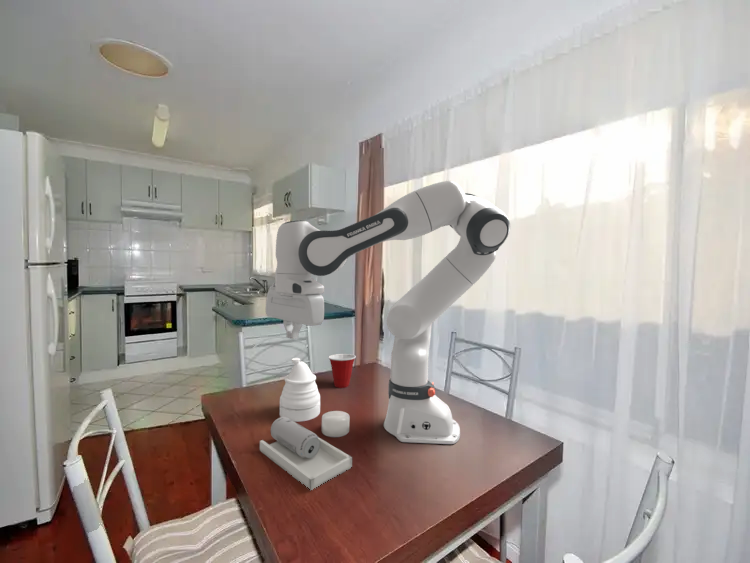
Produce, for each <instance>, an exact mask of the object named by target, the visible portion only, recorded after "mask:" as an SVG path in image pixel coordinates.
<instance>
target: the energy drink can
mask: <svg viewBox="0 0 750 563" xmlns="http://www.w3.org/2000/svg"><path fill="white" fill-rule="evenodd" d="M270 435H271V437H272V438H273V439H274V440H276V442H277V441H278V442H280V443H281V444H283V445H284V446H286V447H287V448H289V449H290V450H292V451H293V452H295V453H296V454H298V455H299V456H301V457H302V458H312V457H314V456H315V455H316V454H317V453H318V451H319V448H320V440H319V439H318V437H319V436H318V435H317V434H316V433H315V432H314V431H311V430H309V429H308V428H306V427H305V426H303V425H301V424H299V423H297V422H294V421H292V420H290V419H289V418H287V417H280V416H279V417H278V418H277V419H275V420H274V421H273V423H272V424H271V425H270Z"/></svg>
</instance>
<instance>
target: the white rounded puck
mask: <svg viewBox="0 0 750 563" xmlns="http://www.w3.org/2000/svg"><path fill="white" fill-rule="evenodd" d="M350 418H351V417H350V414H349V413H347V412H345V411H342V410H333V411H332V410H331V411H328V412H325V413H323V414H322V416H321V433H322V434H323V435H324V436H326V437H328V438H340V437H344V436H346V435H347V434H348V433H349V432H350Z"/></svg>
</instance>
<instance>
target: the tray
mask: <svg viewBox="0 0 750 563" xmlns="http://www.w3.org/2000/svg"><path fill="white" fill-rule="evenodd" d="M317 437H318V439H319V440H320V448H319V451H318V453H317V454H316V455H315V456H314V457H312V458H302V457H301V456H299V455H298V454H296V453H295V452H293V451H292V450H290V449H289V448H287V447H286V446H284V445H283V444H281V443H280V442H278V441H277V440H276V441H275V442H272V443H268V442H266V441H265V440H264V439H262V440H259V452H261V453H262V454H263V455H265V456H266V457H267V458H269V459H270V460H271V461H272V462H274V463H275V464H276V465H277V466H279V467H280V468H281V469H282V470H284V471H285V472H286V471H287V473H288V474H289V475H290V476H291V475H292V476H291V477H292V478H294V479H296V481H297V482H299V481H300V482H301V483H300V482H299V483H300V484H302V485H303V484H304V485H305V486H306V488H307V487H308V488H309V489H310V490H309V489H308V488H307V489H308V490H309V491H311V490H312V491H313V489H314V488H315V489H317V488H319V487H321V486H322V485H324V484H326V483H327V481H328V480H329V481H331V480H333V479H335V478H336V477H338V476H339V474H340V475H342V474H343V473H345V472H347V471H348V470H351V467H352V468H353V456H351V455H350V454H347V453H346V452H344V451H343V450H341V449H340V448H337V447H335V446H334V445H332V444H330V443H329V442H327V441H326V440H324V439H323V438H320V437H319V436H317ZM346 470H347V471H346ZM337 475H338V476H337ZM334 477H335V478H334ZM332 478H333V479H332ZM330 479H331V480H330ZM329 481H328V482H329ZM325 482H326V483H325ZM323 483H324V484H323ZM321 484H322V485H321ZM304 485H303V486H304ZM320 485H321V486H320ZM305 486H304V487H305ZM318 486H319V487H318ZM316 487H317V488H316ZM315 489H314V490H315Z"/></svg>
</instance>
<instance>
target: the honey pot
mask: <svg viewBox="0 0 750 563" xmlns="http://www.w3.org/2000/svg"><path fill="white" fill-rule="evenodd" d="M291 363H292V364H293V365H294V366H292V368H291V370H290V372H289V373H288V374H287V375H285V377H284V379H283V380H284V381H285V383H284V385H283V387H282V391H281V395H280V396H279V418H280V417H287V418H289V419H290V420H292V421H294V422H296V423H297V422H305V421H311V420H312V419H315V418H317V417H318V416H319V415H320V413H321V394H320V392H319V389H318V385H317V383H316V380H317V376H316V375H315V373H313V372H312V371H311V369H310V367H309V366H308V364H307V363H305V362H304V361H302V360H301V358H299V357H294V358H291Z"/></svg>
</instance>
